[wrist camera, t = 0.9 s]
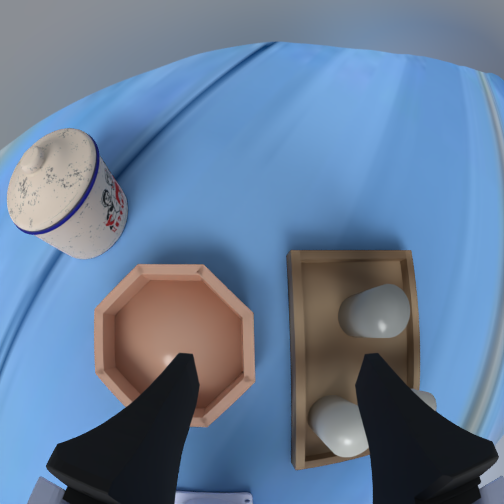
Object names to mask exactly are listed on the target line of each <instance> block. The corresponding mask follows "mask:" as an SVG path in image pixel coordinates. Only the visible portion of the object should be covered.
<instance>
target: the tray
mask: <svg viewBox="0 0 504 504" xmlns="http://www.w3.org/2000/svg"><path fill="white" fill-rule="evenodd" d="M286 258H287V276H288V297H289V321H290V352H291V463H292V465H293V466H294V468H295V470H301V469H307V468H313V467H319V466H324V465H329V464H334V463H338V462H343V461H347V460H351V459H355V458H359V457H363V456H366V455H370V451H369V448H368V449H366V450H365V451H364V452H362V453H361V454H359V455H356V456H353V457H340V456H337V455H336V454H334V453H333V452H332V451H331V450H330V449H329V448H328V447H327V446H326V444H325V443H324V442H323V441H322V440H321V439H320V438H319V437H318V436H317V435H316V434H315V433H314V432H313V431H312V429H311V428H310V427H309V424H308V413H309V410H310V408H311V407H312V405H313V404H314V403H315V402H316V401H317V400H319V399H320V398H322V397H325V396H328V395H337V396H340V397H342V398H344V399H346V400H348V401H350V402H352V403H353V404H355V405H357V406H358V403H357V396H356V389H355V384H356V381H357V378H358V375H359V371H360V368H361V365H362V362H363V359H364V355H365V354H370V353H379V355H380V356H381V357H382V358H383V359H384V360H385V361H386V362H387V364H388V365H389V366H390V367H391V368H392V369H393V370H394V371H395V373H396V374H397V375H398V376H399V377H400V378H401V379H402V380H403V381H404V382H405V383H406V385H407V386H408V387H409V388H411V389H415V390H419V386H420V332H419V314H418V301H417V291H416V281H415V273H414V266H413V259H412V252H411V250H291V251H290V252H289V253H288V254H287V256H286ZM384 284H393V285H396V286H398V287H399V288H401V289H402V290H403V291H404V293H405V294H406V296H407V298H408V300H409V304H410V317H409V321H408V324H407V326H406V327H405V329H404V330H403V331H402V332H401V333H400V334H399V335H397V336H395V337H392V338H355V337H351V336H349V335H347V334H346V333H345V332H344V331H343V330H342V329H341V327H340V324H339V321H338V312H339V308H340V306H341V304H342V302H343V301H344V300H345V299H346V298H347V297H349V296H351V295H353V294H357V293H360V292H363V291H366V290H369V289H372V288H375V287H378V286H381V285H384Z"/></svg>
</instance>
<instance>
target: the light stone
mask: <svg viewBox="0 0 504 504" xmlns="http://www.w3.org/2000/svg"><path fill="white" fill-rule="evenodd" d="M308 424H309V427H310V428H311V429H312V431H313V432H314V433H315V434H316V435H317V436H318V437H319V438H320V439H321V440H322V441H323V442H324V443H325V444H326V446H327V447H328V448H329V449H330V450H331V451H332V452H333V453H334V454H336V455H337V456H340V457H353V456H356V455H359V454H361V453H362V452H364V451H365V450H366V449H368V448H369V446H368V442H367V438H366V434H365V430H364V427H363V423H362V419H361V415H360V412H359V408H358V406H357V405H355V404H353V403H352V402H350V401H348V400H346V399H344V398H342V397H340V396H337V395H328V396H325V397H322V398H320V399H319V400H317V401H316V402H315V403H314V404H313V405H312V407H311V408H310V410H309V413H308Z"/></svg>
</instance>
